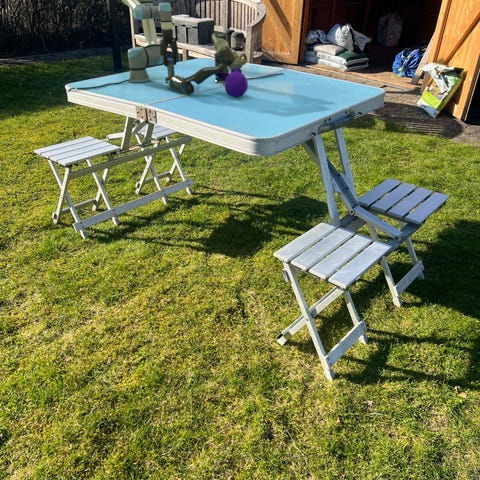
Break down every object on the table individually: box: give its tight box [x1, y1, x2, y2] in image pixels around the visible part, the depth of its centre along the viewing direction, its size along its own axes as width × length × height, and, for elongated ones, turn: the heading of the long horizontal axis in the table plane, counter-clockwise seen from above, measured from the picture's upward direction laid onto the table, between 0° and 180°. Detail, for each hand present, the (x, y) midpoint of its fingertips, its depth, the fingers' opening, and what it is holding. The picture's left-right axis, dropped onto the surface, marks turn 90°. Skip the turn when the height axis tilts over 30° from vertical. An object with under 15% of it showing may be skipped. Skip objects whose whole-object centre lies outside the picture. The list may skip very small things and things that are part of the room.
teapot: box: [228, 50, 248, 71], centre depth 366 cm, size 21×12×15 cm, turn 120°
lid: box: [167, 58, 174, 63], centre depth 308 cm, size 5×5×2 cm
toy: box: [213, 68, 249, 99], centre depth 288 cm, size 16×18×27 cm
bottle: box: [166, 63, 177, 89], centre depth 313 cm, size 5×5×18 cm
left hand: (170, 65), depth 310 cm, fingers open, 7 cm apart
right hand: (170, 78), depth 316 cm, fingers closed on bottle, 4 cm apart
